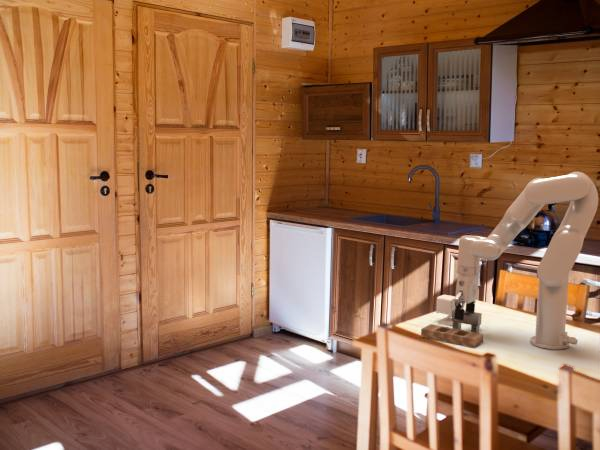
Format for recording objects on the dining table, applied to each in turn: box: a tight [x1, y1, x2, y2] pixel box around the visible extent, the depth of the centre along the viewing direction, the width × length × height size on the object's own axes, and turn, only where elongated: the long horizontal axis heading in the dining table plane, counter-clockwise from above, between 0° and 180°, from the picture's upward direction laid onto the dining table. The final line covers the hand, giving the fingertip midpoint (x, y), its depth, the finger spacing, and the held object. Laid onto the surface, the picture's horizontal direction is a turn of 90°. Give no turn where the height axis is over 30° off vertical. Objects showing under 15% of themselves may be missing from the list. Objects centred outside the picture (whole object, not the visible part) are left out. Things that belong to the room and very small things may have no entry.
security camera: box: [435, 294, 456, 327], centre depth 263 cm, size 6×7×10 cm
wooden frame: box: [420, 323, 484, 349], centre depth 243 cm, size 20×8×3 cm, turn 54°
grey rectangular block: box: [451, 309, 482, 333], centre depth 250 cm, size 10×3×8 cm, turn 54°
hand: (464, 316), depth 250 cm, fingers open, 9 cm apart
